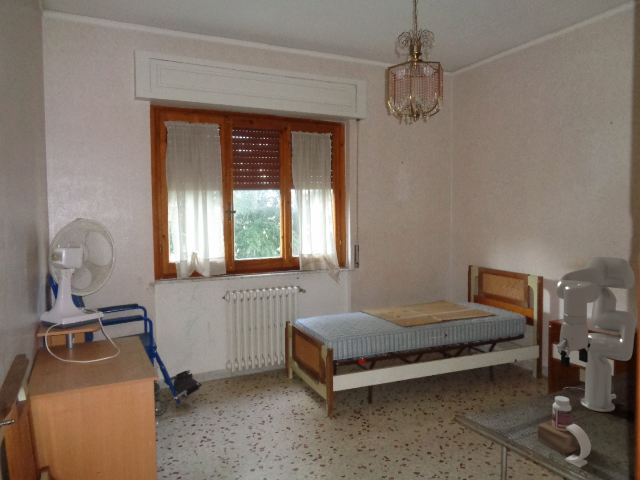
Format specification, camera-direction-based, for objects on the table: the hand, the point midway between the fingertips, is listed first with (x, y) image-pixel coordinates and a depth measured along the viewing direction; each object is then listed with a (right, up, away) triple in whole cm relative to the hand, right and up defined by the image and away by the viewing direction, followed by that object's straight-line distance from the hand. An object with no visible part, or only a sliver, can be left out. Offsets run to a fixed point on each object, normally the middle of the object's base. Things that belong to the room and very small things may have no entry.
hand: (574, 363), depth 174 cm
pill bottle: (-6, -23, -2) cm, 24 cm away
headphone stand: (-6, -30, -14) cm, 34 cm away
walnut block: (-6, -29, -2) cm, 29 cm away
